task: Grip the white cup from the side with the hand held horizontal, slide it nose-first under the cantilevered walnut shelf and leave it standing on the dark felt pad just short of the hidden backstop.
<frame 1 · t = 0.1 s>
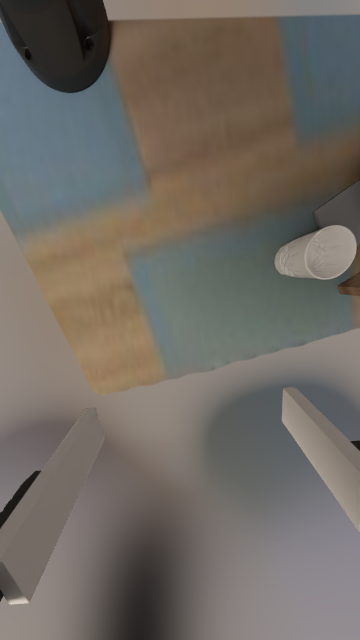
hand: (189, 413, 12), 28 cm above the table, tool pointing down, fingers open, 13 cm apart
white cup: (289, 259, 36), on the table
walnut shelf: (349, 220, 34), on the table
felt pad: (349, 220, 34), on the table
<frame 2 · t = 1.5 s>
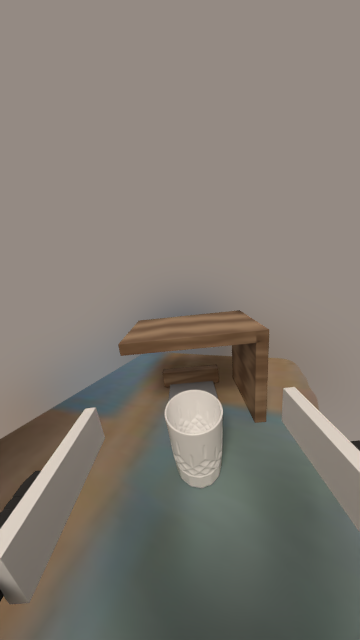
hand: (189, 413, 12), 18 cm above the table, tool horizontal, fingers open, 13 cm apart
white cup: (198, 462, 26), on the table
walnut shelf: (193, 400, 39), on the table
felt pad: (193, 400, 39), on the table
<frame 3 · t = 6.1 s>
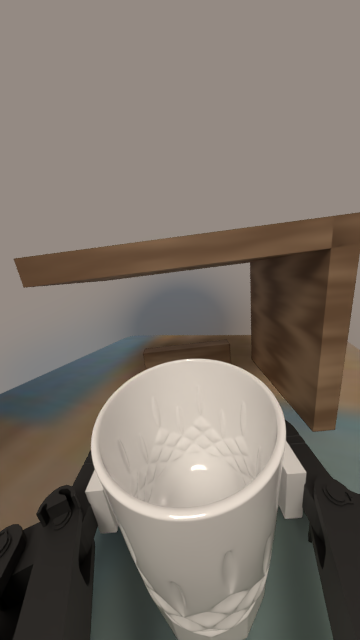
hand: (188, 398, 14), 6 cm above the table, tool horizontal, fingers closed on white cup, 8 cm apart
white cup: (204, 539, 10), on the table, touching gripper
walnut shelf: (190, 393, 23), on the table
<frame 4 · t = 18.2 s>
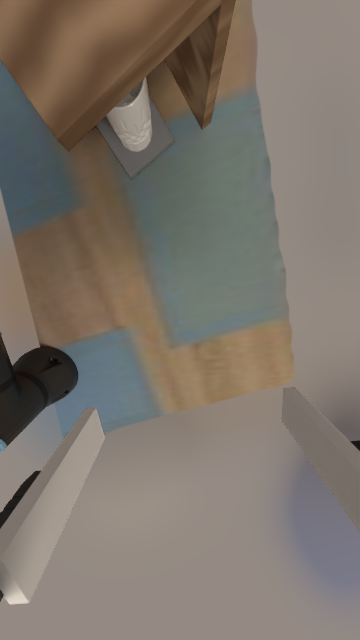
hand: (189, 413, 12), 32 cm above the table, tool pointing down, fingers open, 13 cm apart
white cup: (135, 131, 33), resting on felt pad
walnut shelf: (135, 133, 33), on the table
felt pad: (135, 133, 33), on the table
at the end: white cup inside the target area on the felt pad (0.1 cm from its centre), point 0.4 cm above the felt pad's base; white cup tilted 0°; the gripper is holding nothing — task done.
